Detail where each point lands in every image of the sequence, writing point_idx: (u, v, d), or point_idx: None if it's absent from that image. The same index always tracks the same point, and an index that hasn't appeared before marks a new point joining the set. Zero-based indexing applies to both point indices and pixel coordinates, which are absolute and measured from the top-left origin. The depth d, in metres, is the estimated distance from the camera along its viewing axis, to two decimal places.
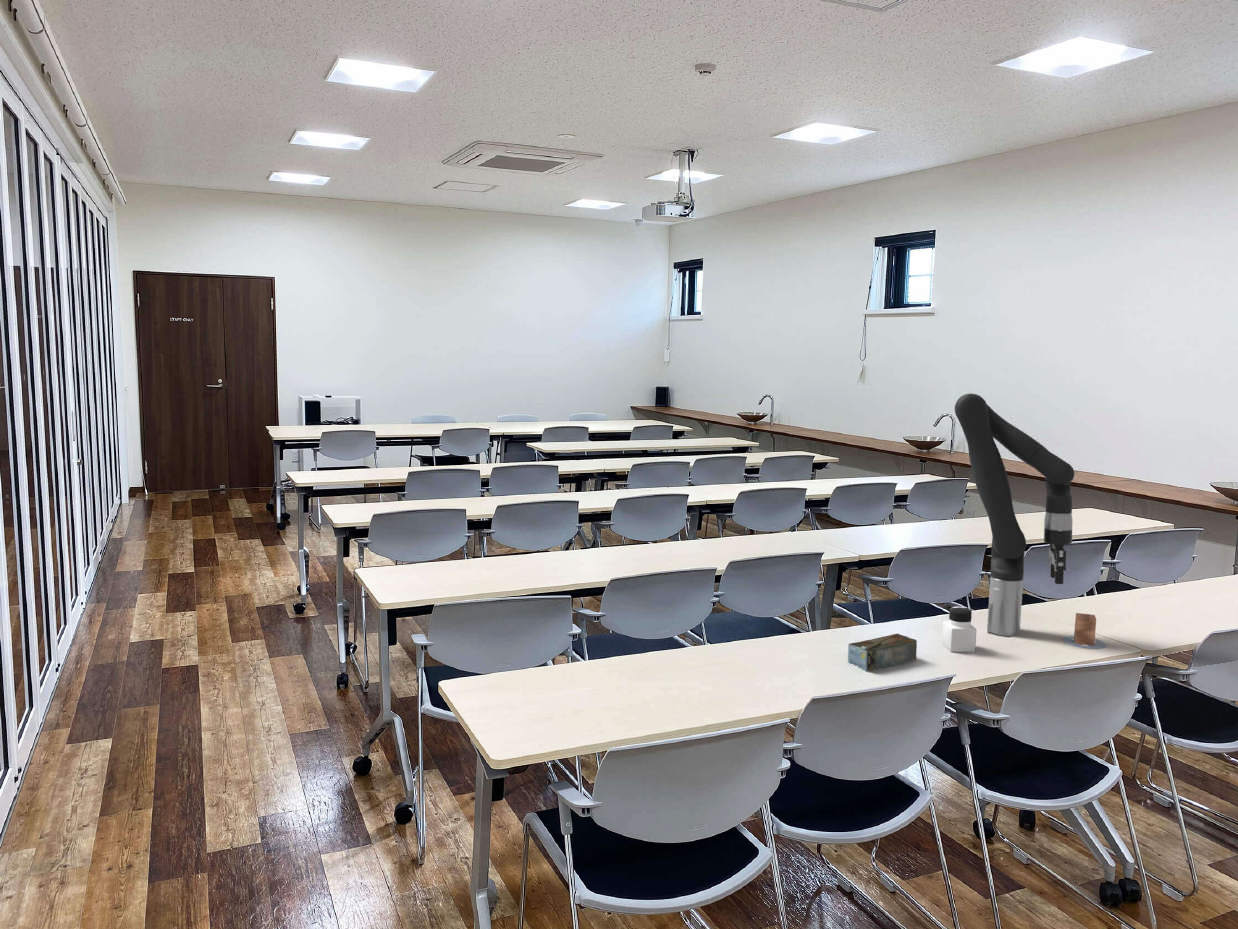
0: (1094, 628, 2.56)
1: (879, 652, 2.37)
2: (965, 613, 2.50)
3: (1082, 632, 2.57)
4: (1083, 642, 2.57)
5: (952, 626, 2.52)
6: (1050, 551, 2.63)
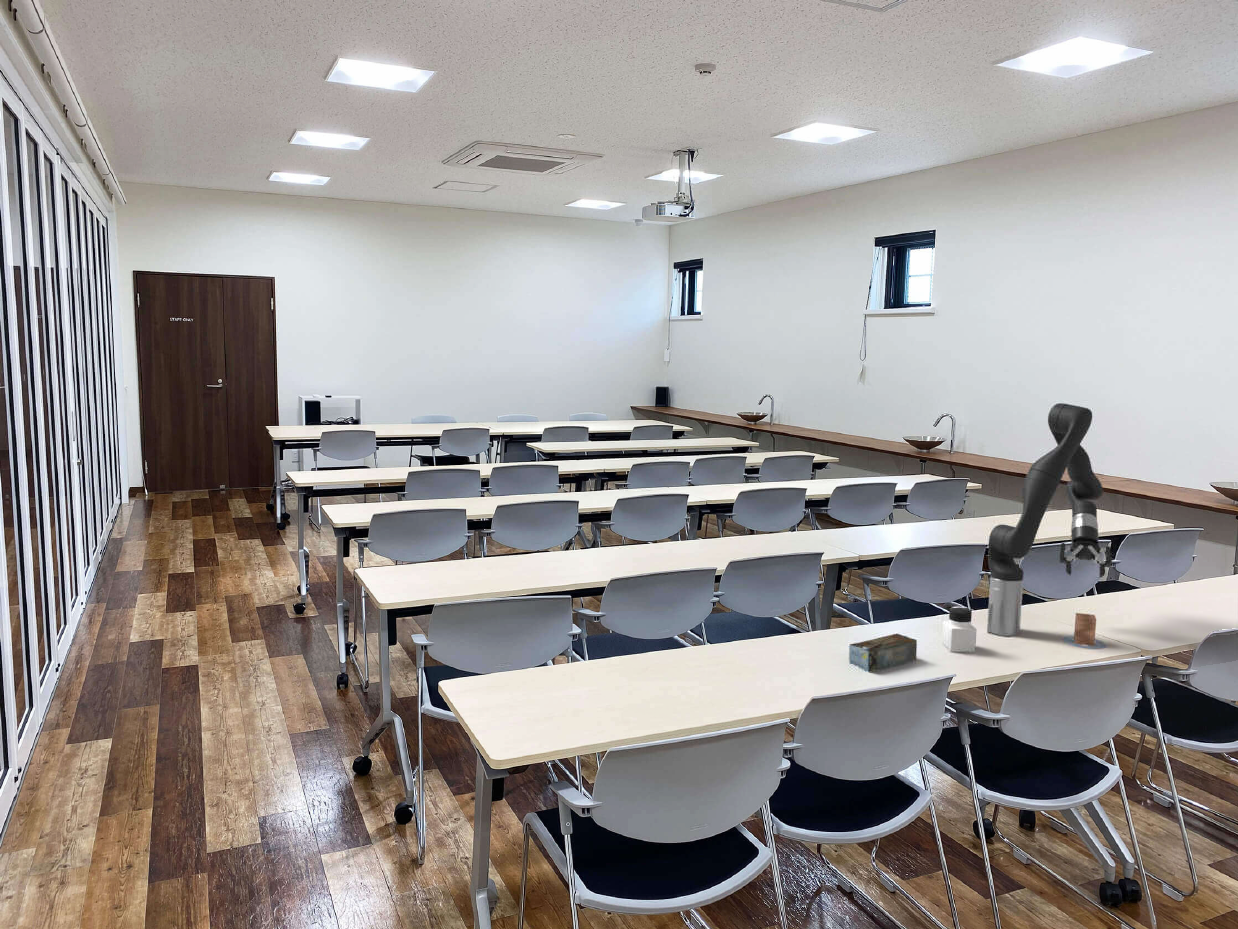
0: (1094, 628, 2.56)
1: (880, 652, 2.37)
2: (965, 613, 2.50)
3: (1082, 632, 2.57)
4: (1083, 642, 2.57)
5: (952, 626, 2.52)
6: (1082, 547, 2.72)
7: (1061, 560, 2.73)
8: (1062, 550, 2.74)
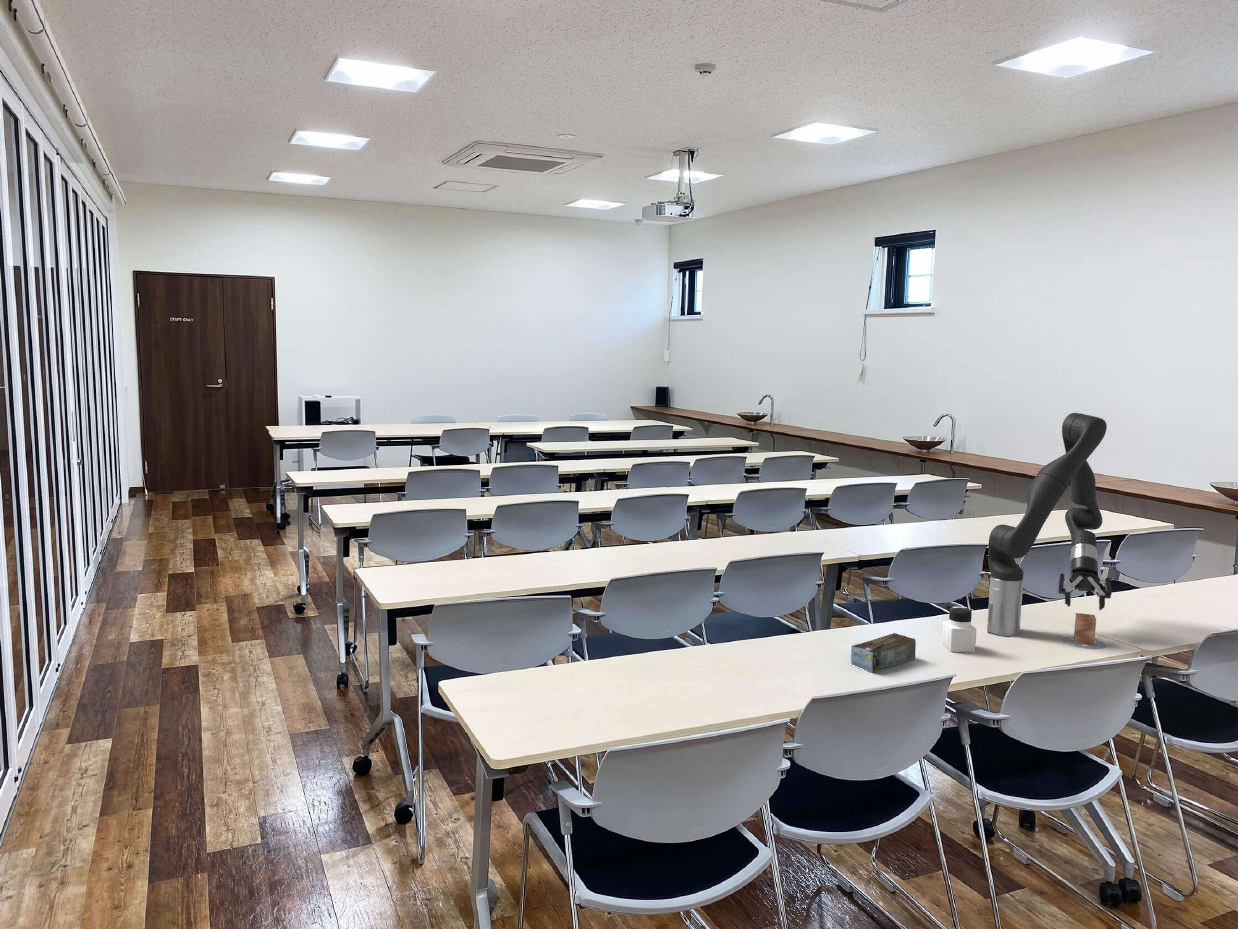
0: (1094, 628, 2.56)
1: (883, 653, 2.36)
2: (965, 613, 2.50)
3: (1082, 632, 2.57)
4: (1083, 642, 2.57)
5: (952, 626, 2.52)
6: (1082, 578, 2.67)
7: (1060, 591, 2.68)
8: (1061, 581, 2.69)
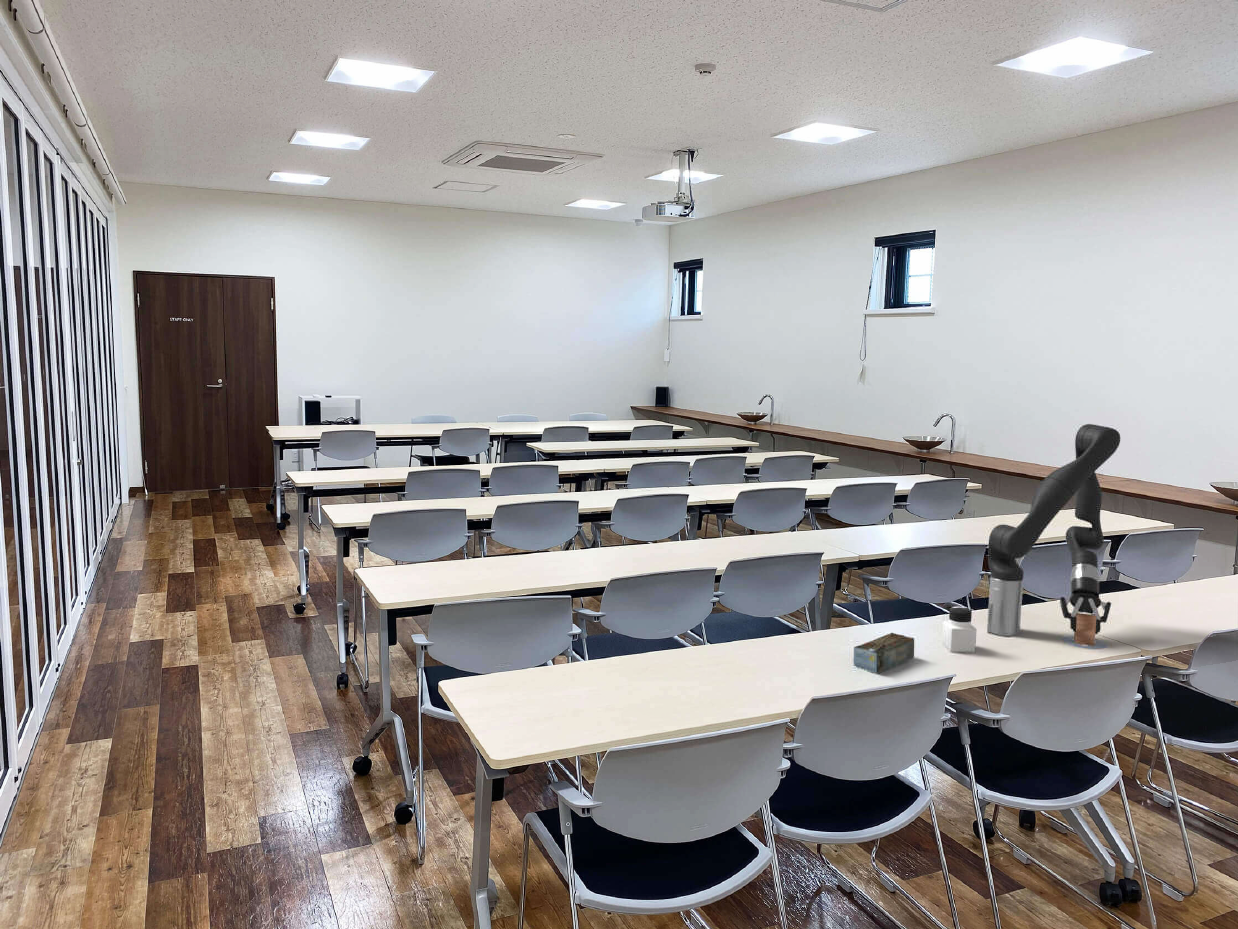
0: (1094, 628, 2.56)
1: (886, 653, 2.36)
2: (965, 613, 2.50)
3: (1082, 632, 2.57)
4: (1083, 642, 2.57)
5: (952, 626, 2.52)
6: (1083, 600, 2.62)
7: (1065, 615, 2.62)
8: (1064, 605, 2.63)
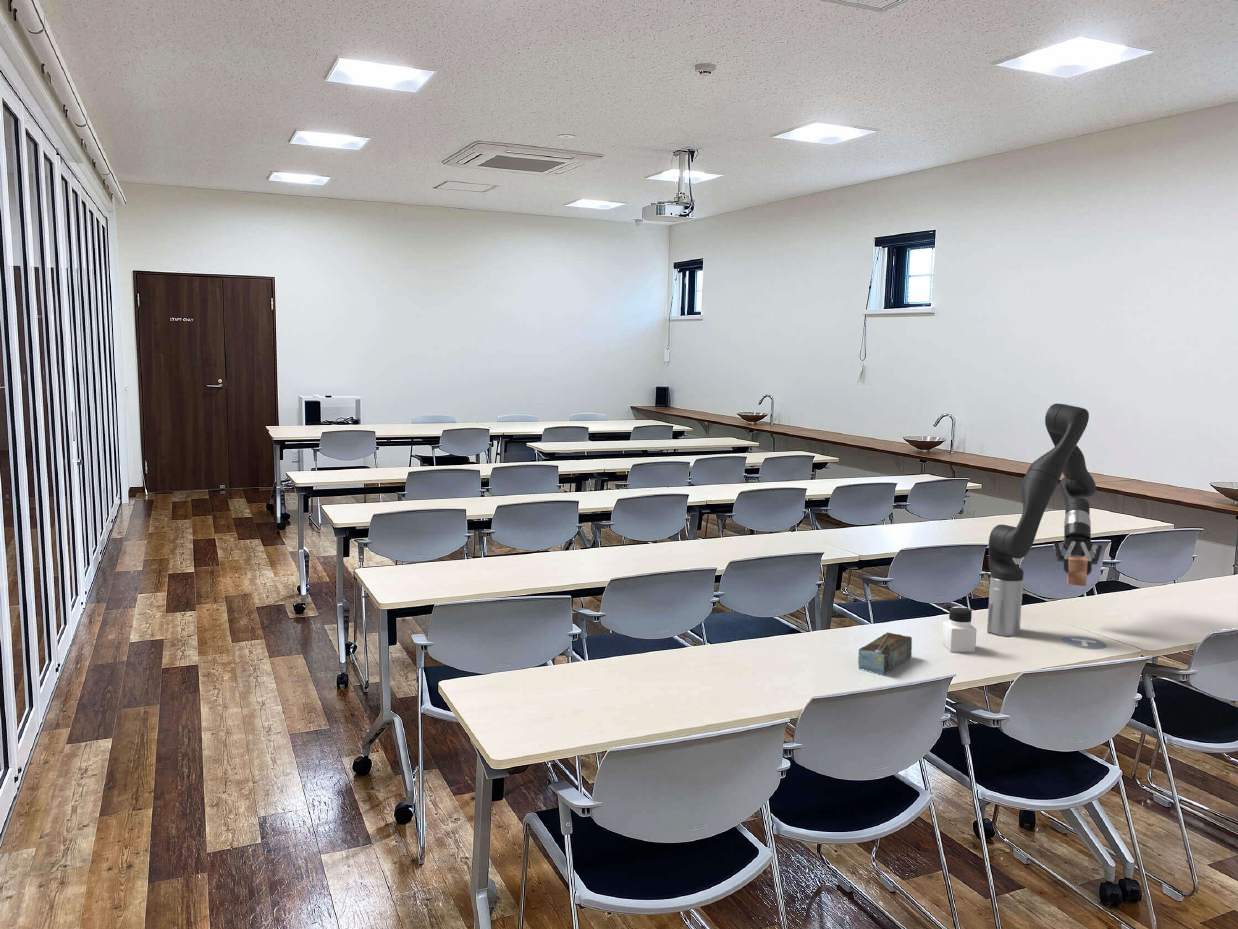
0: (1085, 569, 2.69)
1: (891, 654, 2.36)
2: (965, 613, 2.50)
3: (1074, 573, 2.70)
4: (1075, 583, 2.71)
5: (952, 626, 2.52)
6: (1075, 543, 2.75)
7: (1059, 558, 2.75)
8: (1057, 548, 2.76)
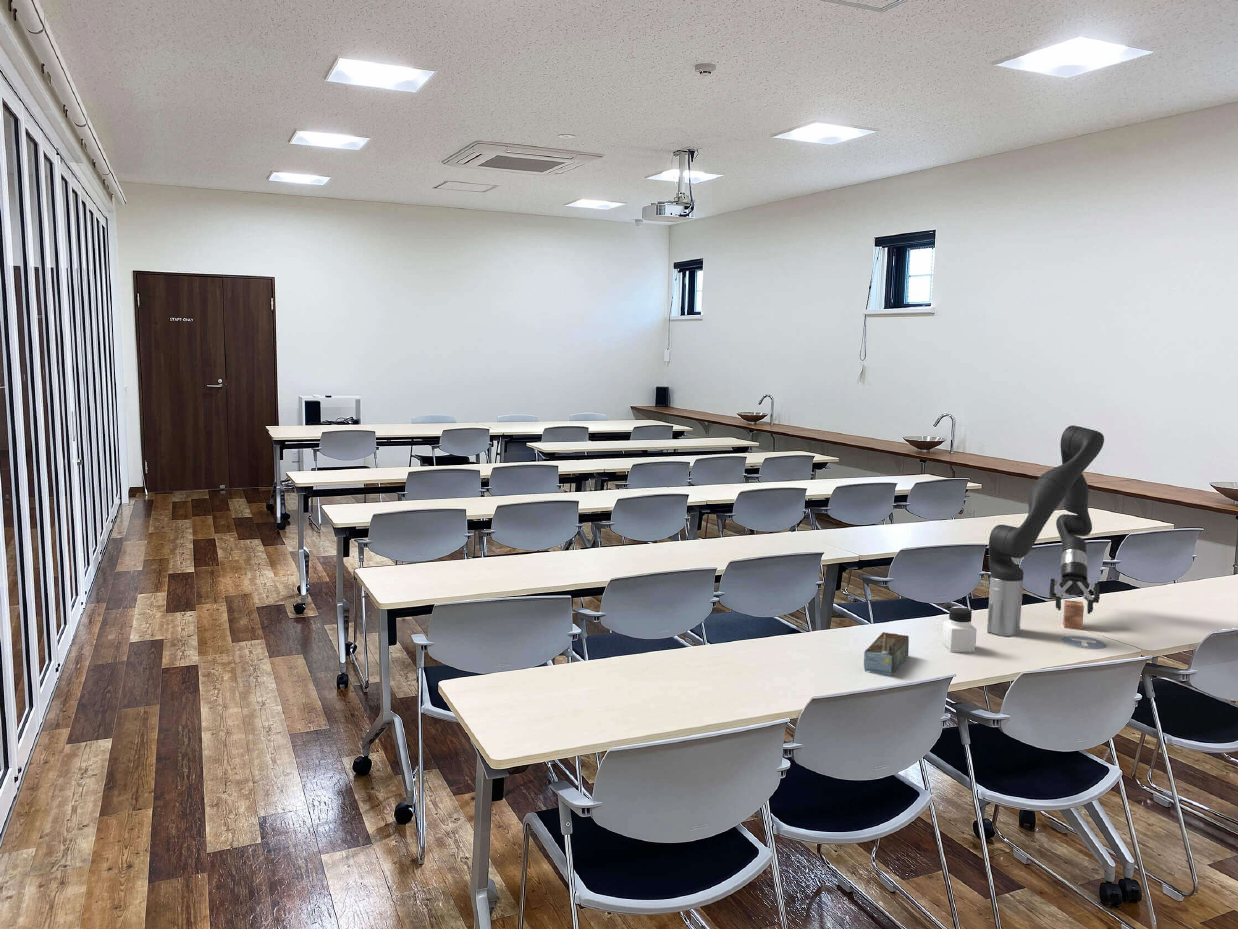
0: (1082, 614, 2.71)
1: (895, 654, 2.35)
2: (965, 613, 2.50)
3: (1070, 618, 2.72)
4: (1072, 627, 2.72)
5: (952, 626, 2.52)
6: (1072, 583, 2.76)
7: (1051, 596, 2.78)
8: (1052, 586, 2.78)
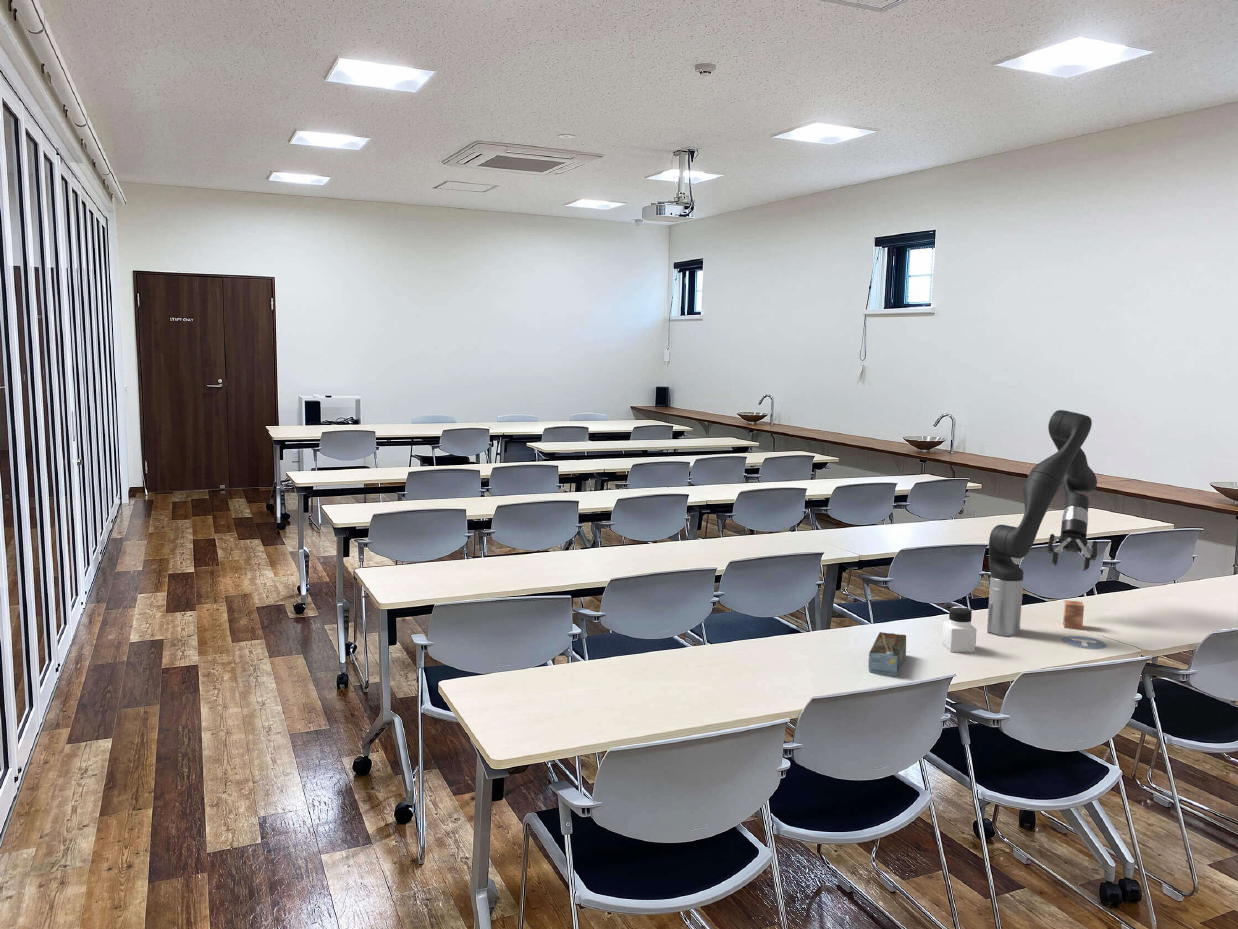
0: (1082, 614, 2.71)
1: (899, 654, 2.35)
2: (965, 613, 2.50)
3: (1070, 618, 2.72)
4: (1071, 627, 2.72)
5: (952, 626, 2.52)
6: (1071, 540, 2.83)
7: (1049, 551, 2.85)
8: (1051, 541, 2.85)
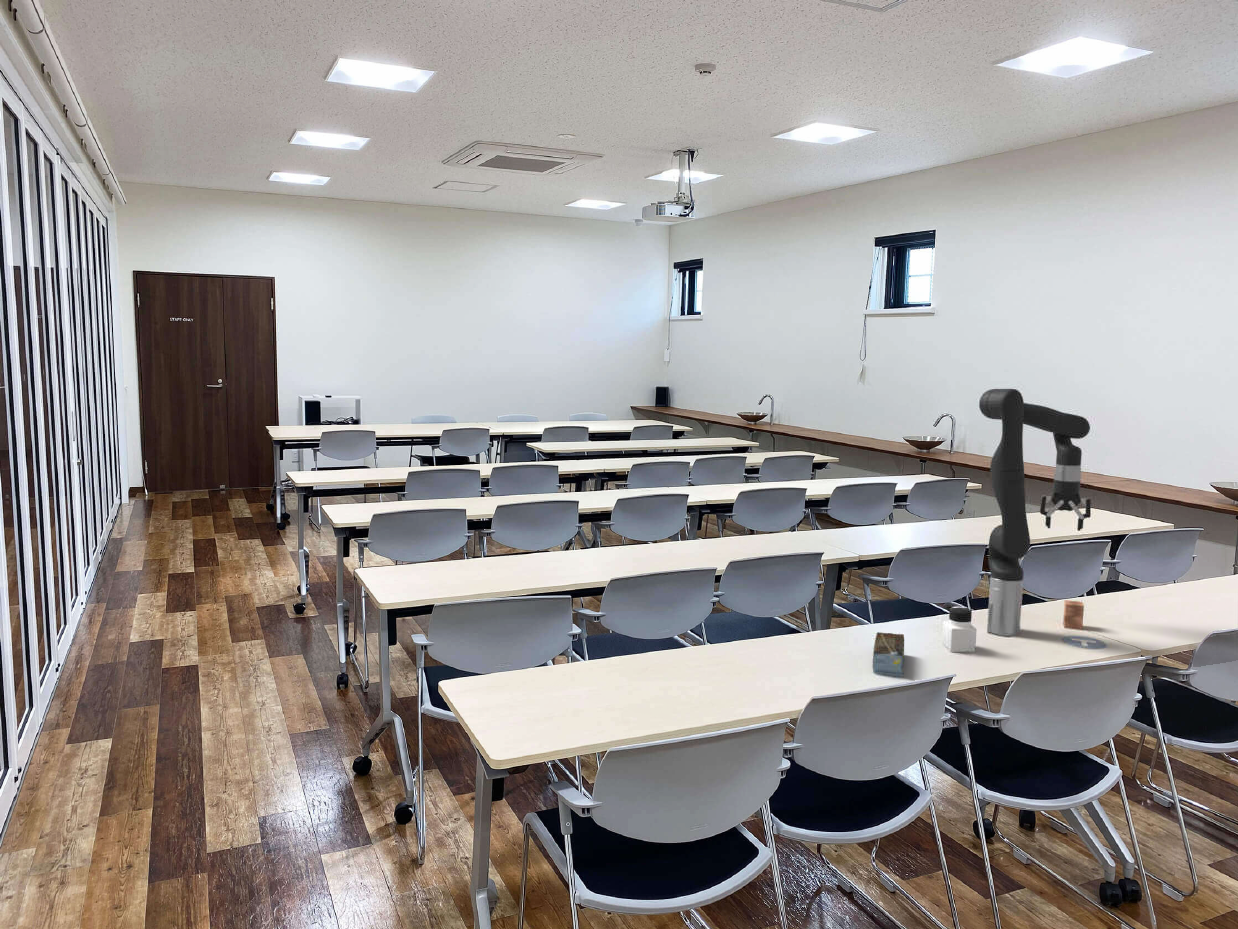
0: (1082, 614, 2.71)
1: None
2: (965, 613, 2.50)
3: (1070, 618, 2.72)
4: (1071, 627, 2.72)
5: (952, 626, 2.52)
6: (1063, 502, 2.75)
7: (1041, 513, 2.80)
8: (1043, 505, 2.78)
